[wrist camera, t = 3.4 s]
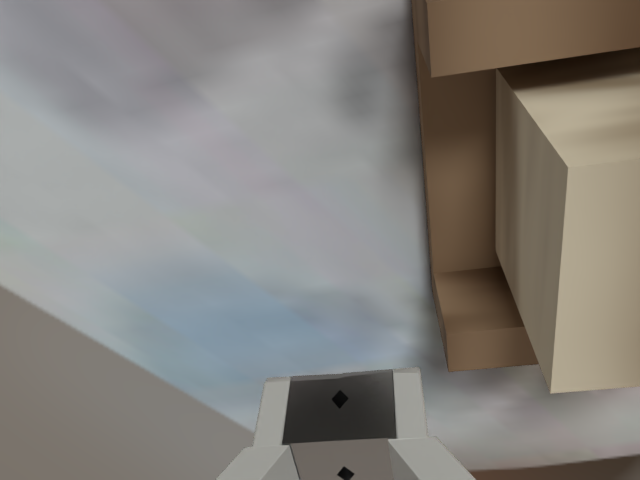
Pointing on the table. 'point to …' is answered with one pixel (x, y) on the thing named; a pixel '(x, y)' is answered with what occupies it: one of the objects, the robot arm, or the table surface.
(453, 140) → the chute
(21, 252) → the table surface
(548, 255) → the block
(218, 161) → the table surface
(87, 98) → the table surface
